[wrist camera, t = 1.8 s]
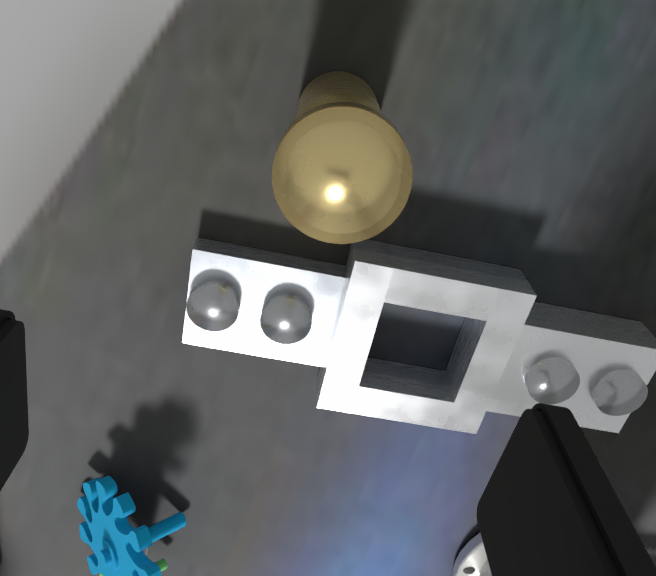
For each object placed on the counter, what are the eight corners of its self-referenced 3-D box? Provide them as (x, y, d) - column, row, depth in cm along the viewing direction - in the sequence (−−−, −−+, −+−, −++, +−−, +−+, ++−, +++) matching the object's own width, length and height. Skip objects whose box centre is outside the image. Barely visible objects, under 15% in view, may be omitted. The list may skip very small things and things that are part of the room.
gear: (73, 451, 38) (150, 571, 33) (156, 422, 43) (236, 524, 37) (63, 559, 44) (128, 678, 38) (138, 523, 48) (206, 626, 42)
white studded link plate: (655, 295, 34) (689, 330, 31) (586, 421, 38) (609, 462, 35) (201, 206, 31) (187, 234, 28) (184, 353, 36) (171, 390, 33)
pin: (397, 74, 28) (430, 125, 19) (373, 170, 30) (391, 255, 22) (298, 52, 28) (284, 93, 19) (281, 151, 30) (261, 229, 21)
